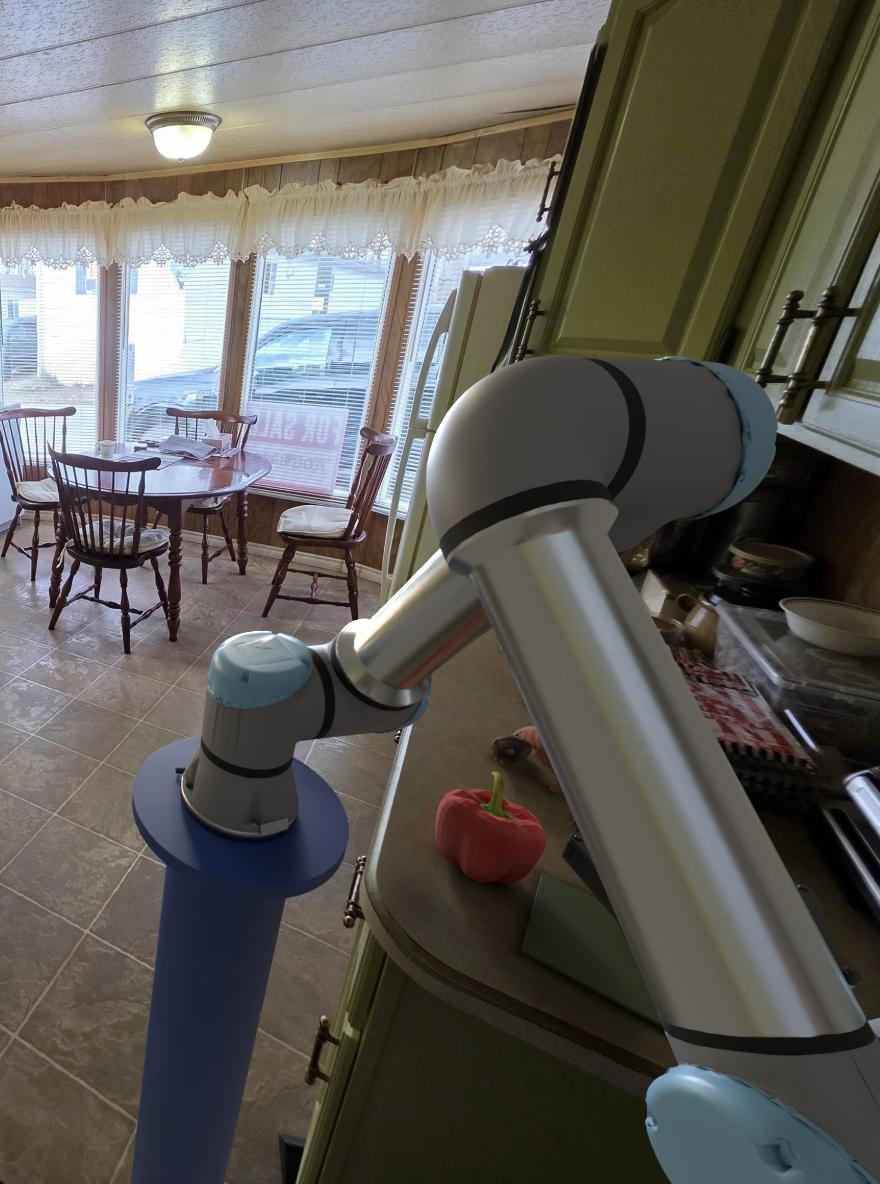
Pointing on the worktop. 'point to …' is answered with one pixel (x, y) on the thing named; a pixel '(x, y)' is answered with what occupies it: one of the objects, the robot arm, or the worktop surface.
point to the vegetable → (488, 834)
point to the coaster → (586, 946)
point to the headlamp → (522, 750)
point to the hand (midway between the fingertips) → (640, 812)
